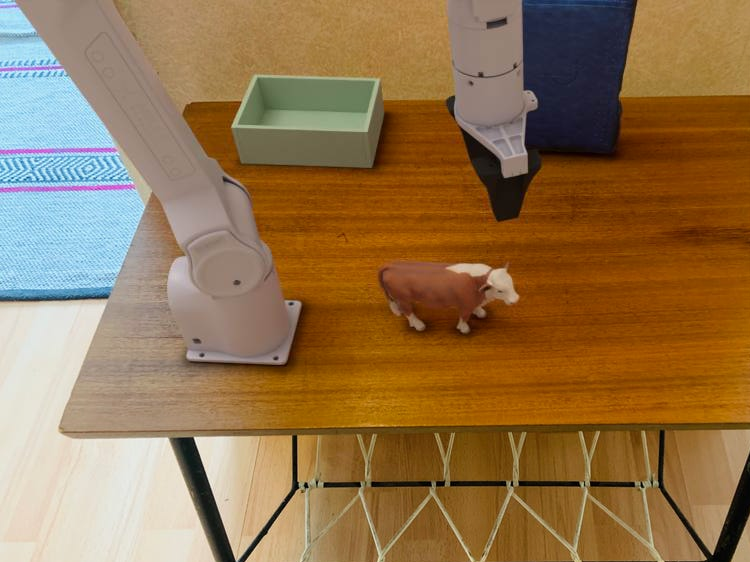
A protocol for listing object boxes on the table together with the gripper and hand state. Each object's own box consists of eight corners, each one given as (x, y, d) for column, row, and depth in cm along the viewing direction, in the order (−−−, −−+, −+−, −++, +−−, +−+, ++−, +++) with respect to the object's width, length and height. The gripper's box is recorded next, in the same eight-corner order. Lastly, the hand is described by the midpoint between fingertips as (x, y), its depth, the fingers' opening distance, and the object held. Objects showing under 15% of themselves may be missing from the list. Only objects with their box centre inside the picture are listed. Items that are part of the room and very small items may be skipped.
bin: (241, 163, 92) (230, 127, 88) (262, 110, 99) (253, 74, 95) (372, 168, 92) (367, 131, 88) (384, 114, 99) (380, 78, 95)
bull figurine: (514, 349, 74) (517, 289, 68) (379, 327, 76) (370, 267, 69) (521, 315, 77) (525, 255, 70) (391, 295, 78) (383, 235, 72)
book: (616, 135, 96) (643, -29, 80) (618, 162, 93) (647, -5, 77) (501, 130, 97) (505, -34, 81) (498, 156, 93) (503, -10, 78)
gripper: (565, 96, 58) (561, 231, 69) (508, 4, 67) (513, 137, 77) (474, 116, 57) (485, 250, 68) (429, 21, 66) (444, 152, 76)
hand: (495, 191), depth 72 cm, fingers open, 7 cm apart
